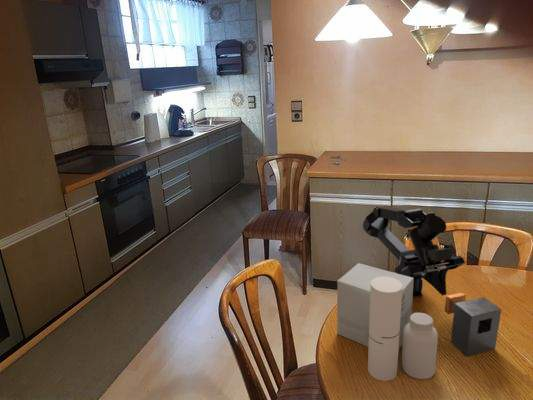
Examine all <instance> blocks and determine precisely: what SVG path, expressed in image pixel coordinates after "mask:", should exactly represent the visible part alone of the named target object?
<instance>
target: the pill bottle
mask: <svg viewBox="0 0 533 400" xmlns="http://www.w3.org/2000/svg"><path fill="white" fill-rule="evenodd" d="M438 339H439V334H438V331H437V329H436V328H435V327H434V319H433V318H432V316H430V315H429V314H427V313H424V312H414V313H412V315H411V316H410V322H409V323H408V324H406V325H405V327H404V330H403V345H402V351H401V352H402V353H401V355H402V356H401V367H402V370H403V371H404V372H405V373H406V374H407V375H408V376H410V377H411V378H414V379H418V380H427V379H430V378H432V377H433V376H434V375H435V373H436V363H437V361H436V360H437V351H438Z"/></svg>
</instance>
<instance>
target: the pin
mask: <svg viewBox="0 0 533 400" xmlns="http://www.w3.org/2000/svg"><path fill="white" fill-rule="evenodd" d="M466 297H467V295H466V293H464V292H462V291H461V292H457V293H451V294H446V295H445V302H444V312H445V314H448V315H452V314H454V309H455V303H459V302H464V301H466Z"/></svg>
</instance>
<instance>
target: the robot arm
mask: <svg viewBox="0 0 533 400" xmlns="http://www.w3.org/2000/svg"><path fill="white" fill-rule="evenodd" d="M390 221H393V222H396V223H397V224H398V226H400V227H402V228H404V229H408V228H409V229H408V230H407V233H406V236H405V237H406V239H410V241H411V244H412V245H413V248H414V249H411V250H410V249H409V248H408V247H407V246H406V245H405V243H403V242H402V241H401V240H400V239H399V238H398V237H397V236H396V235H395V234H394V233H393V232H391V231H390V230H389V224H390ZM410 228H411V229H410ZM362 229H363V230H364V232H365V233H366V234H367V235H369V236H370V237H373V238H377V239H378V240H379V241H380V242H381V243H382V244H383V245H384V246H385V247H386V248H387V250H388V251H389V252H390V253H391V254H392V255H393V256H394V257H395V258H396V259H397V260H398V266H396V267H395V268H394V270H395V271H394V273H397V274H401V275H404V276H408V277H413V278H414V281H413V297H423V293H422V291H423V286H424V285H423V283H424V281H426V282H427V283H429V284H430V285H431V286H432V288H434V289H435V290H436V291H437V292H438V293H439V294H440V295H441V296H447V282H446V280H447V279H446V278H447V272H448V271H452V270H456V269H458V268H460V267H461V266H464V265H465V264H466V261H465V259H464V257H463V256H461V255H456V254H457V253H456V252H457V251H456V249H455V246H454V245H453V244H452V243H450V244H449V243H447V244H444V245H443V247H442V248H439V246H438V244H434V242H433V241H434V240H435V239H436V238H438V237H439V236H441V234H443V233H444V232H445V231H446V230H447V224H446V221H445V220H444V219H443V218H442V217H440V216H438V215H436V213H435V212H428V213H426V212H424V211H423V209H422V208H420V207H415V208H408V209H403V208H398V207H393V206H392V207H391V206H388V205H380V206H376V207H374V208H373V209H372V212H370V213H369V214H368V215H366V217H365V218H364V220H363V223H362ZM454 255H456V256H454ZM423 280H424V281H423Z"/></svg>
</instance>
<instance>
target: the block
mask: <svg viewBox="0 0 533 400" xmlns="http://www.w3.org/2000/svg"><path fill="white" fill-rule="evenodd" d="M501 313H502V308H500V307H499V306H497V305H495V303H493V302H491V301H490V300H489V299H487V298H486V297H484V296H481V297H478V298H473V299H470V300H469V299H468V300H465V301H464V302H459V303H455V309H454V313H453V318H452V326H451V335H450V336H451V337H450V343H451V344H452V345H453V346H454V348H456V349H457V350H458V351H459V352H460V353H462V354H463V356H465V357H467V358H468V357H470V356H475V355H478V354H482V353H486V352H491V351H493V350H494V351H495V350H496V346H497V339H498V333H499V326H500V319H501Z"/></svg>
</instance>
